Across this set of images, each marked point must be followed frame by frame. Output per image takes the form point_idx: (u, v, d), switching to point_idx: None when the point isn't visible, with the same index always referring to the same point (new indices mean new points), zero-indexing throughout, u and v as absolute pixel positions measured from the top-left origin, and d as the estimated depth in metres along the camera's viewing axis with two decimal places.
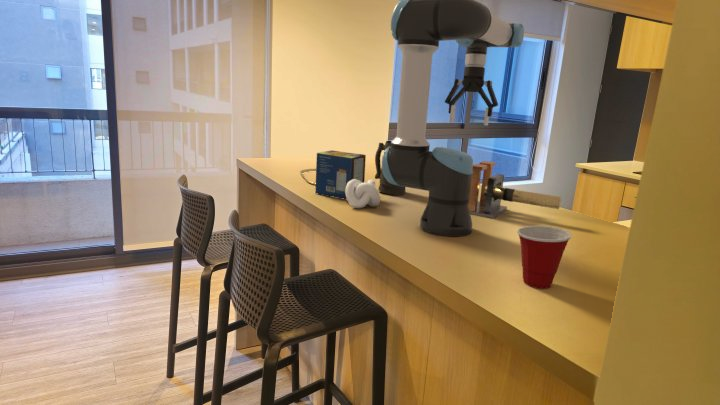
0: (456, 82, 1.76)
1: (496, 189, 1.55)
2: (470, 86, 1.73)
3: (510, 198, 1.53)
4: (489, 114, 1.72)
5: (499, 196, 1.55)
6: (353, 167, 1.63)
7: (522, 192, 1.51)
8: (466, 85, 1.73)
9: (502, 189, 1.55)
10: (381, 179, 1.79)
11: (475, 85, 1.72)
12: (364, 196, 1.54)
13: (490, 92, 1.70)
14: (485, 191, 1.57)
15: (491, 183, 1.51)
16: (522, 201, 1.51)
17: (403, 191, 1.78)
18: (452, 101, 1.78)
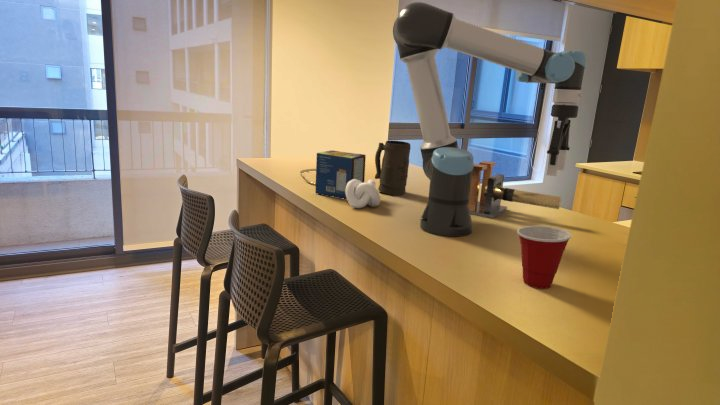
0: None
1: (496, 189, 1.55)
2: None
3: (510, 198, 1.53)
4: (550, 162, 1.39)
5: (499, 196, 1.55)
6: (353, 167, 1.63)
7: (522, 192, 1.51)
8: None
9: (502, 189, 1.55)
10: (381, 179, 1.79)
11: None
12: (364, 196, 1.54)
13: None
14: (485, 191, 1.57)
15: (491, 183, 1.51)
16: (522, 201, 1.51)
17: (403, 191, 1.78)
18: None
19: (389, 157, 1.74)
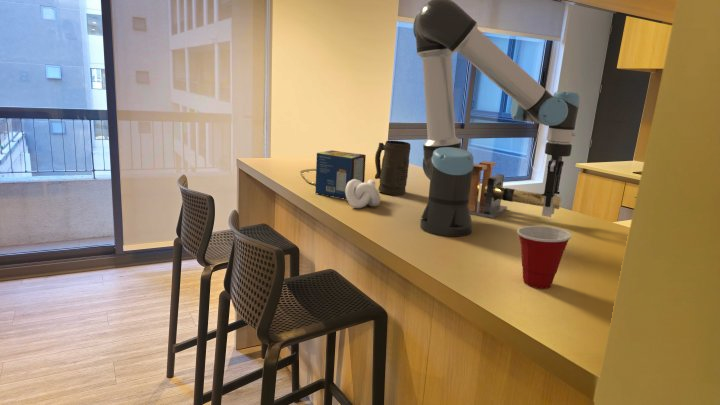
0: None
1: (496, 189, 1.55)
2: None
3: (510, 198, 1.53)
4: (545, 203, 1.46)
5: (499, 196, 1.55)
6: (353, 167, 1.63)
7: (522, 192, 1.51)
8: None
9: (502, 189, 1.55)
10: (381, 179, 1.79)
11: None
12: (364, 196, 1.54)
13: (546, 178, 1.43)
14: (485, 191, 1.57)
15: (491, 183, 1.51)
16: (522, 201, 1.51)
17: (403, 191, 1.78)
18: None
19: (389, 157, 1.74)
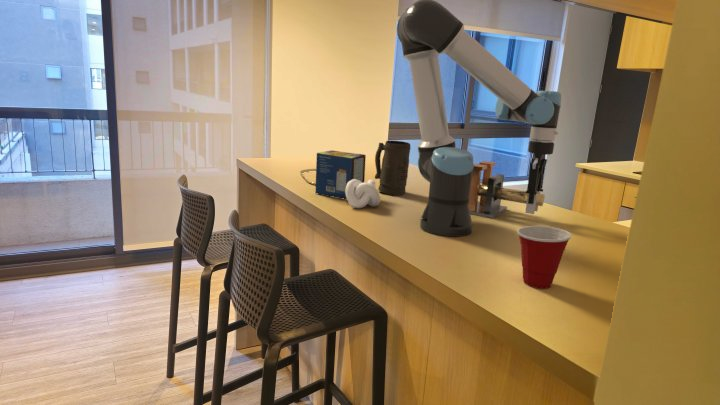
0: None
1: (481, 187, 1.58)
2: None
3: (495, 196, 1.55)
4: None
5: (484, 193, 1.57)
6: (353, 167, 1.63)
7: (506, 190, 1.54)
8: None
9: None
10: (381, 179, 1.79)
11: None
12: (364, 196, 1.54)
13: None
14: None
15: (491, 183, 1.51)
16: (506, 198, 1.54)
17: (403, 191, 1.78)
18: None
19: (389, 157, 1.74)
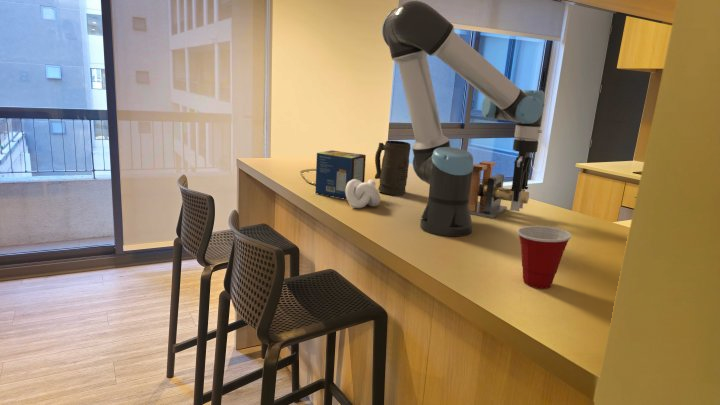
0: None
1: None
2: None
3: (481, 193, 1.58)
4: None
5: None
6: (353, 167, 1.63)
7: None
8: None
9: None
10: (381, 179, 1.79)
11: None
12: (364, 196, 1.54)
13: None
14: None
15: (491, 183, 1.51)
16: None
17: (403, 191, 1.78)
18: None
19: (389, 157, 1.74)
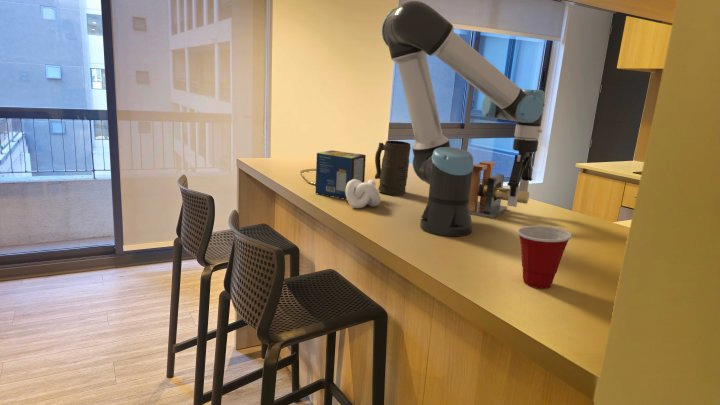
0: None
1: None
2: None
3: (481, 193, 1.58)
4: None
5: None
6: (353, 167, 1.63)
7: None
8: None
9: None
10: (381, 179, 1.79)
11: None
12: (364, 196, 1.54)
13: None
14: None
15: (491, 183, 1.51)
16: None
17: (403, 191, 1.78)
18: None
19: (389, 157, 1.74)
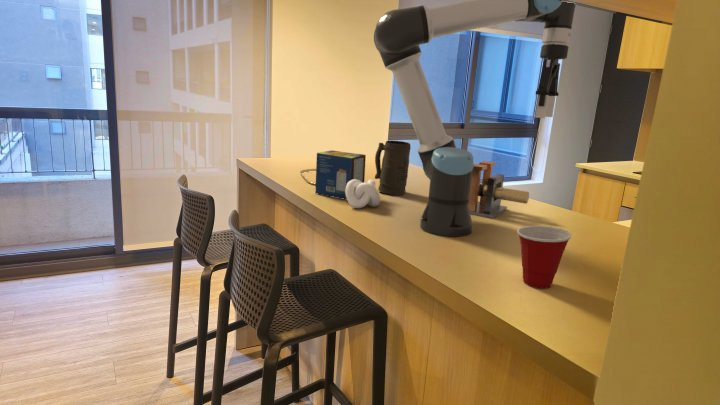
0: None
1: None
2: None
3: (481, 193, 1.58)
4: None
5: None
6: (353, 167, 1.63)
7: None
8: None
9: None
10: (381, 179, 1.79)
11: None
12: (364, 196, 1.54)
13: None
14: None
15: (491, 183, 1.51)
16: None
17: (403, 191, 1.78)
18: (547, 90, 1.46)
19: (389, 157, 1.74)
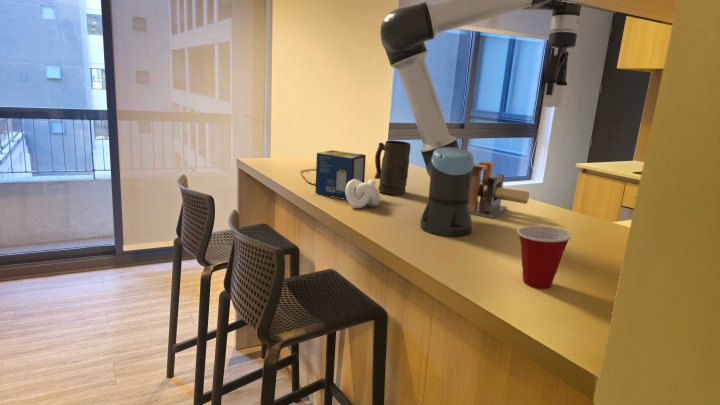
0: None
1: None
2: None
3: (481, 193, 1.58)
4: None
5: None
6: (353, 167, 1.63)
7: None
8: None
9: None
10: (381, 179, 1.79)
11: None
12: (364, 196, 1.54)
13: None
14: None
15: (491, 183, 1.51)
16: None
17: (403, 191, 1.78)
18: (556, 80, 1.44)
19: (389, 157, 1.74)
